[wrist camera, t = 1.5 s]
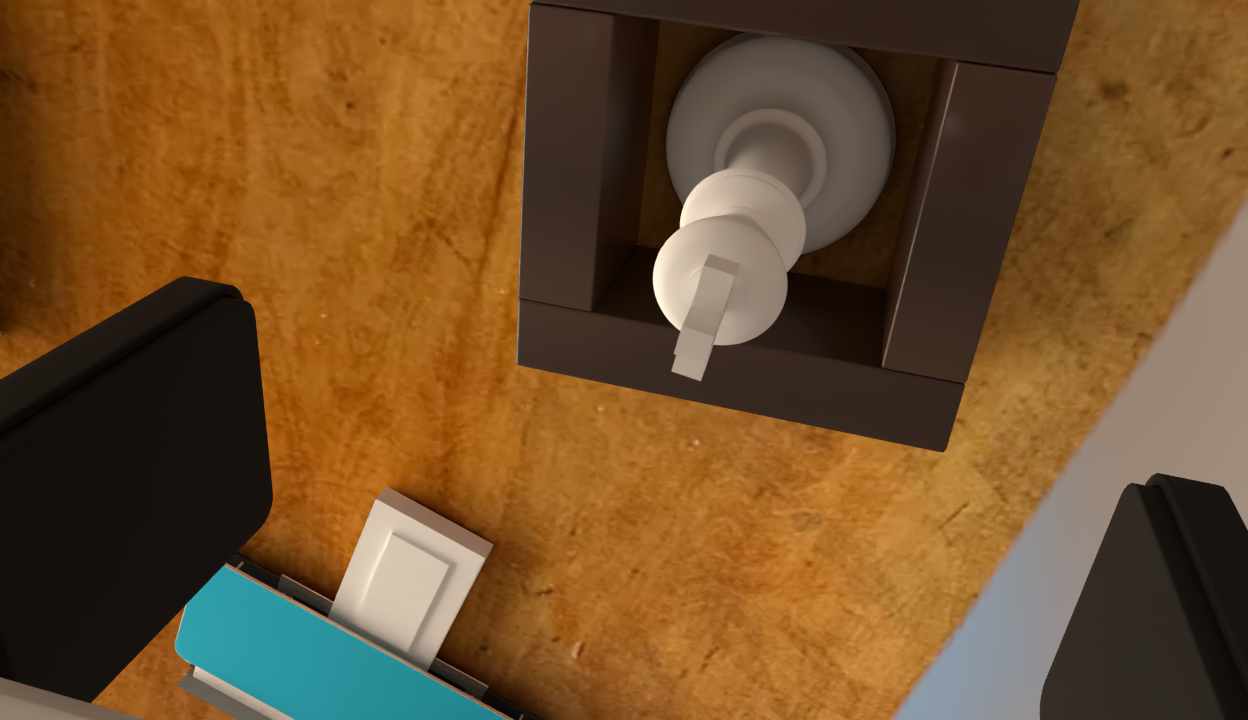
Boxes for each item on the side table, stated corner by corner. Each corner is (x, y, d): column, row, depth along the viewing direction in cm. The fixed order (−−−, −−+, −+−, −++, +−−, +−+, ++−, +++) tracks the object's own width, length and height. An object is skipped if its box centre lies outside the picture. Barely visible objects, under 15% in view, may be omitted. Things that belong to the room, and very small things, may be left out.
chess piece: (645, 211, 23) (488, 433, 14) (701, -4, 20) (552, 107, 12) (848, 277, 22) (814, 548, 14) (932, 64, 20) (953, 232, 11)
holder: (596, -107, 20) (531, -97, 16) (1056, -54, 18) (1090, -31, 15) (570, 292, 24) (514, 365, 21) (938, 362, 23) (945, 454, 19)
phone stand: (739, 675, 29) (730, 719, 27) (582, 870, 35) (568, 914, 33) (143, 351, 29) (103, 377, 27) (91, 603, 35) (57, 635, 33)
